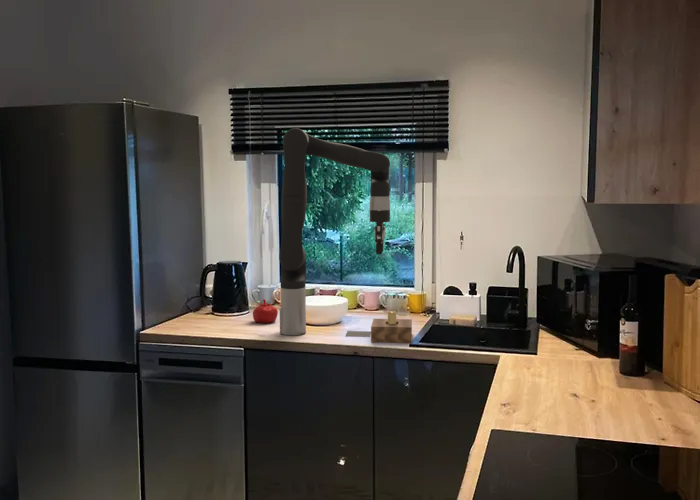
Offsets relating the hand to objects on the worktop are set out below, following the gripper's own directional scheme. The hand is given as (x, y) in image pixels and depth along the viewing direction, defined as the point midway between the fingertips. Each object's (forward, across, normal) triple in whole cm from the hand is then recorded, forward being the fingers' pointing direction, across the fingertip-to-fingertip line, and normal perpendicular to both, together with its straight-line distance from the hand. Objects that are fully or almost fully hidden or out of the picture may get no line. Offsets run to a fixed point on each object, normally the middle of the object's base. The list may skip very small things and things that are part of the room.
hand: (379, 252), depth 247 cm
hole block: (+30, +10, +5) cm, 32 cm away
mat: (+30, +4, -8) cm, 31 cm away
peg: (+30, +10, +5) cm, 32 cm away
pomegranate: (+30, -16, -47) cm, 58 cm away
